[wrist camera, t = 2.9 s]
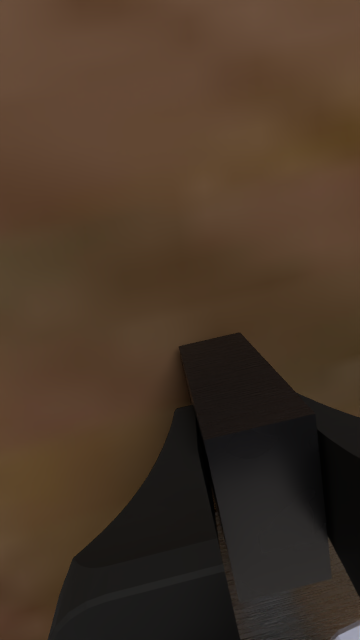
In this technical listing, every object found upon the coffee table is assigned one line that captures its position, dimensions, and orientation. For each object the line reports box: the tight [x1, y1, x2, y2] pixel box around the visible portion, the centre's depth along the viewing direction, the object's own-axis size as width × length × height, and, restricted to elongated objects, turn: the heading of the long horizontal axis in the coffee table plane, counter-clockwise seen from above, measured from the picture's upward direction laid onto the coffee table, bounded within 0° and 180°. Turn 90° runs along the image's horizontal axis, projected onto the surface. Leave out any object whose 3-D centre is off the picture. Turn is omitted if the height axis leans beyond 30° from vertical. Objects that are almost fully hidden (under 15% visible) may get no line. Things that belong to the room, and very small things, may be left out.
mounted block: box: [179, 333, 360, 640], centre depth 11 cm, size 8×10×6 cm
